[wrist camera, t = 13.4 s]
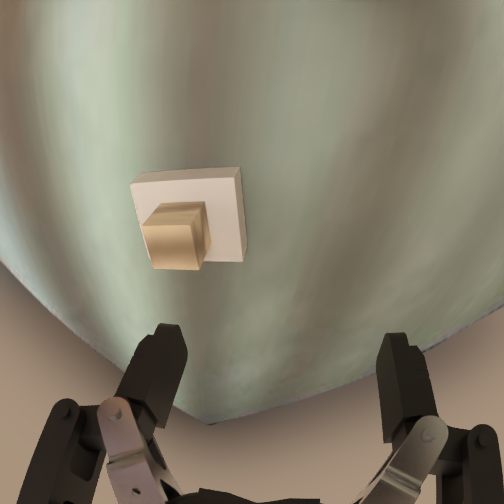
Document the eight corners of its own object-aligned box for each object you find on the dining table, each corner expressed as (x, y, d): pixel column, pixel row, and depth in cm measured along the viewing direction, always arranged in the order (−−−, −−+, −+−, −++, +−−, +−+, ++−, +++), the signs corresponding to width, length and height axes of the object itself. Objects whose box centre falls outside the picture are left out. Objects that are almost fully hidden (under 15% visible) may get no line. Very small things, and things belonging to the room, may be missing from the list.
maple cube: (160, 202, 39) (141, 225, 34) (204, 201, 38) (190, 225, 33) (169, 242, 42) (153, 268, 37) (211, 242, 41) (199, 270, 36)
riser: (142, 172, 41) (129, 183, 38) (239, 166, 39) (234, 177, 36) (159, 244, 48) (149, 259, 44) (247, 245, 46) (242, 261, 42)
